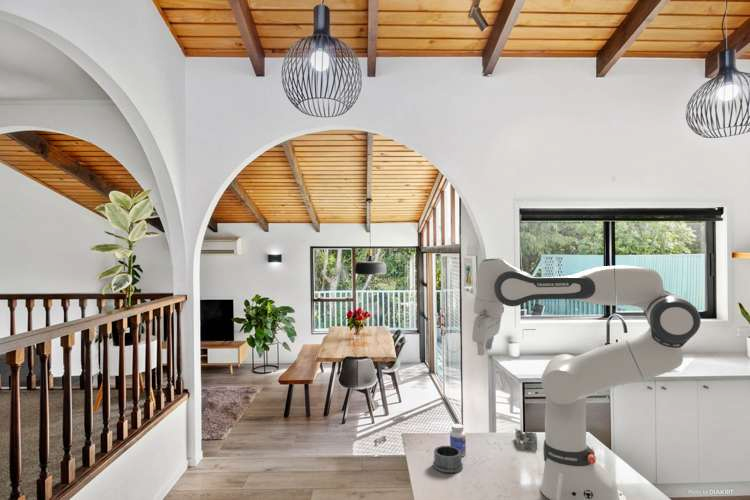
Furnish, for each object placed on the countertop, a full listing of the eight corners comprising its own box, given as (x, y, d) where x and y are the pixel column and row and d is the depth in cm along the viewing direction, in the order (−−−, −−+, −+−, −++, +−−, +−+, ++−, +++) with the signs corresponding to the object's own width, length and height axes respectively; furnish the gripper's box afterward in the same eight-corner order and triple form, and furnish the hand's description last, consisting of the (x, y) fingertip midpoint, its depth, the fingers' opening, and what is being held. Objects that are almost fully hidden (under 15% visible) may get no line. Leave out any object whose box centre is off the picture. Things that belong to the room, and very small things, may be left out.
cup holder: (466, 463, 146) (466, 448, 146) (457, 476, 138) (457, 460, 138) (439, 457, 151) (438, 443, 151) (428, 469, 142) (428, 454, 143)
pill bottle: (465, 457, 151) (465, 429, 151) (449, 456, 152) (449, 428, 152) (465, 450, 156) (465, 423, 156) (450, 449, 157) (450, 422, 157)
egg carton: (514, 438, 168) (514, 427, 168) (535, 439, 166) (535, 428, 166) (516, 449, 157) (516, 438, 157) (538, 451, 155) (538, 440, 155)
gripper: (490, 313, 128) (486, 360, 128) (505, 307, 146) (501, 348, 146) (469, 310, 131) (465, 356, 131) (486, 304, 149) (483, 344, 149)
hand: (484, 352), depth 139 cm, fingers open, 8 cm apart
